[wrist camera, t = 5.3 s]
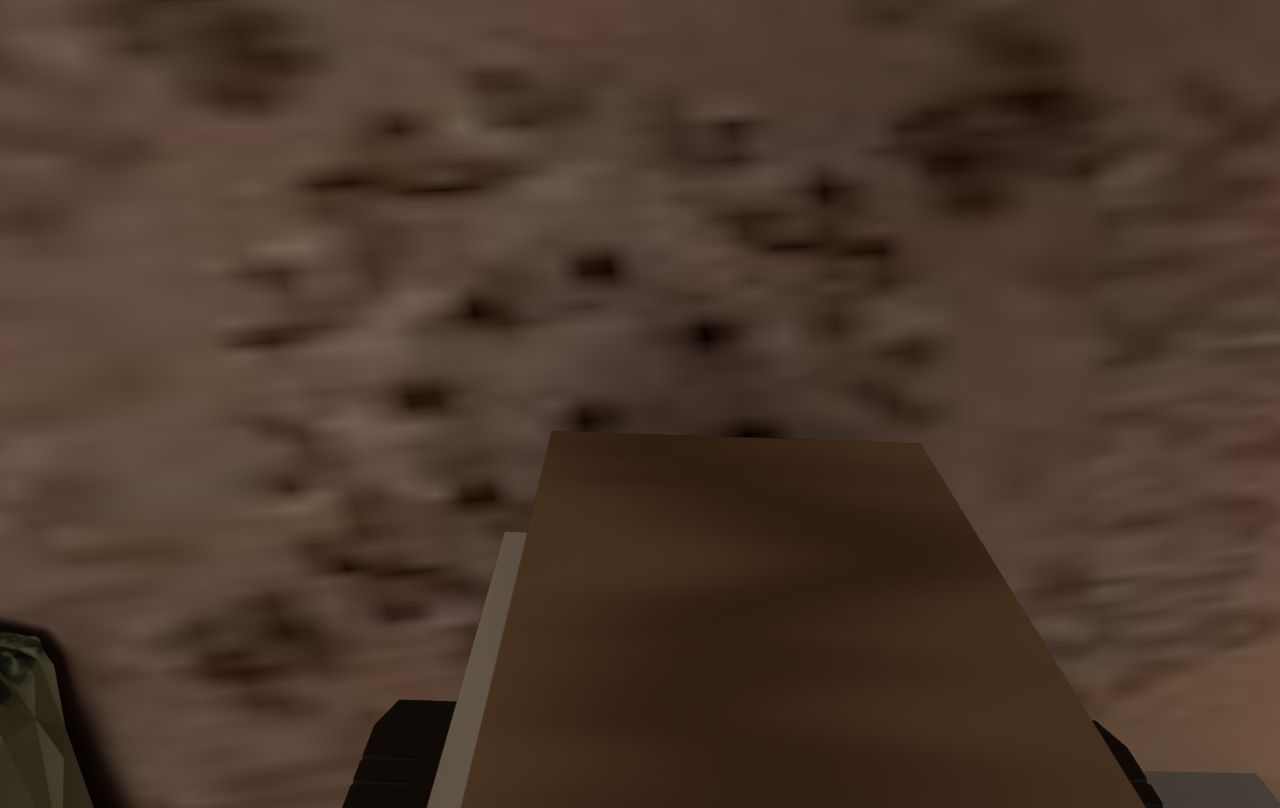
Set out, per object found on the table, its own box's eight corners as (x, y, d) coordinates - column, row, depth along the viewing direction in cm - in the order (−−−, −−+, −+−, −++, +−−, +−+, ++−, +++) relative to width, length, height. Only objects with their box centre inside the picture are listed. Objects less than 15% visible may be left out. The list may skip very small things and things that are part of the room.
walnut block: (920, 443, 15) (1165, 839, 8) (874, 734, 18) (1031, 1251, 10) (552, 431, 15) (459, 815, 8) (553, 723, 18) (481, 1232, 10)
